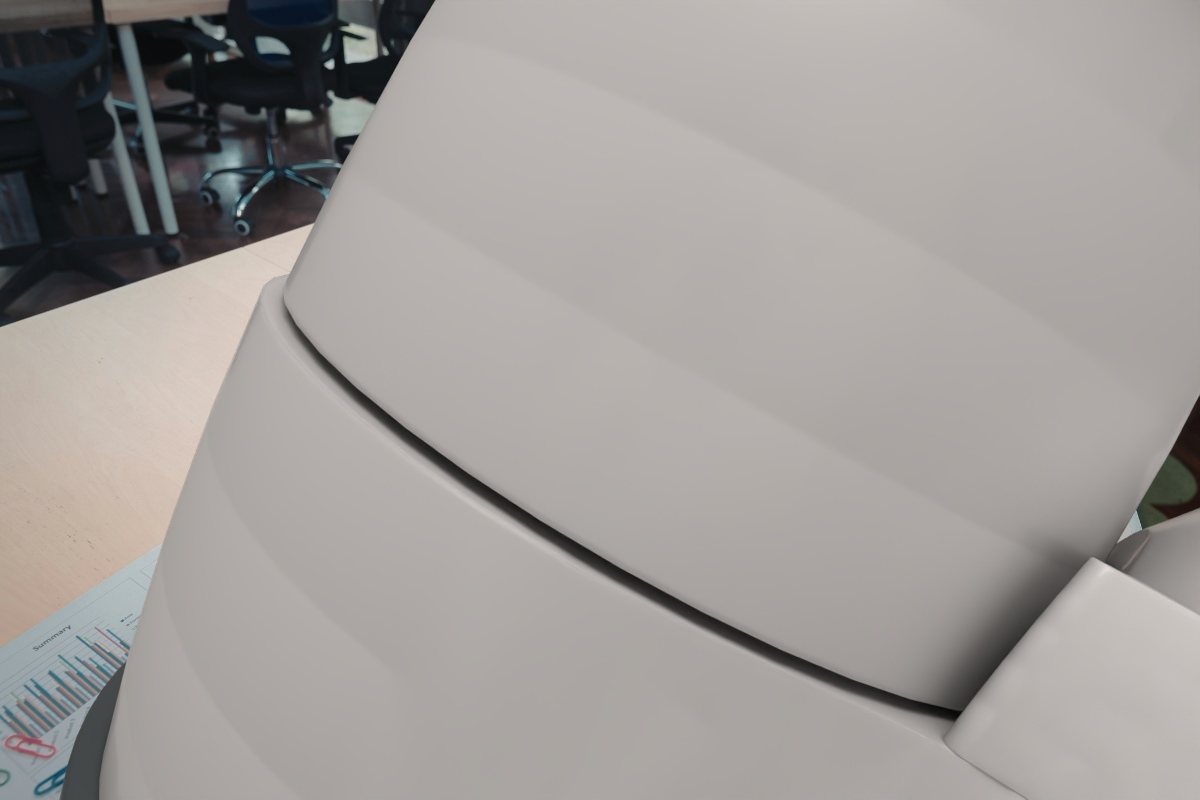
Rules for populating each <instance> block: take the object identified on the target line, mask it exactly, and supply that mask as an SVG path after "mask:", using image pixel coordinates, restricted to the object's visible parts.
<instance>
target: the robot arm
mask: <svg viewBox="0 0 1200 800" xmlns="http://www.w3.org/2000/svg"><path fill="white" fill-rule="evenodd" d="M308 233H309V234H307V235H308V236H307V237H306V239H305V241H304V244H303V246H302V248H301V250H300V251H299V254H298V256H297V258H296V260H295V262H294V263H293V266H292V267H291V270H290V272H289V273H287V274H283V275H279V276H274V277H273V278H271V279H270V280H269V281H268V282H266V283H265V284H263V286H262V288H261V290H260V293H259V295H258V297H257V299H256V302H255V304H254V307H253V309H252V311H251V314H250V316H249V318H248V321H247V323H246V325H245V328H244V330H243V332H242V335H241V337H240V339H239V341H238V344H237V347H236V349H235V351H234V354H233V356H232V358H231V360H230V363H229V365H228V368H227V370H226V372H225V375H224V377H223V378H222V381H221V384H220V387H219V388H218V391H217V393H216V395H215V398H214V399H213V403H212V406H211V409H210V411H209V414H208V417H207V419H206V422H205V424H204V428H203V430H202V433H201V436H200V438H199V441H198V444H197V447H196V449H195V452H194V454H193V458H192V459H191V462H190V464H189V465H190V466H189V469H188V471H187V473H186V476H185V478H184V482H183V484H182V488H181V490H180V492H179V495H178V498H177V500H176V503H175V506H174V509H173V511H172V515H171V517H170V519H169V520H170V521H169V523H168V526H167V529H166V532H165V535H164V538H163V541H162V544H161V548H160V550H159V554H158V558H157V561H156V564H155V567H154V570H153V573H152V577H151V579H150V583H149V585H148V589H147V593H146V595H145V599H144V602H143V605H142V608H141V612H140V615H139V619H138V622H137V624H136V628H135V630H134V634H133V636H132V637H133V638H132V641H131V643H130V646H129V650H128V655H127V658H126V661H125V662H123V664H122V665H121V666H119V667H118V669H117V670H116V671H115V672H114V674H113V675H112V676H111V677H110V679H109V680H108V681H107V682H106V683H105V685H104V686H103V688H102V689H101V690H100V692H99V693H98V695H97V697H96V698H95V700H94V701H93V703H91V704H92V705H91V706H90V708H89V709H88V711H87V713H86V715H85V718H84V719H83V722H82V724H81V726H80V728H79V730H78V732H77V735H76V737H75V739H74V743H73V745H72V749H71V752H70V755H69V758H68V760H67V761H68V762H67V765H66V769H65V773H64V777H63V782H62V787H61V789H60V790H61V791H60V795H59V799H58V800H1200V507H1199V508H1196V509H1194V510H1191V511H1188V512H1186V513H1182V514H1180V515H1177V516H1175V517H1173V518H1170V519H1167V520H1164V521H1162V522H1159V523H1156V524H1153V525H1151V526H1148V527H1145V528H1143V529H1141V530H1138V531H1135V532H1133V533H1132V534H1129V535H1128V536H1127V537H1125V538H1123V539H1122V540H1120V539H1121V537H1122V536H1123V533H1124V532H1125V530H1126V528H1127V527H1128V525H1129V524H1130V522H1131V520H1132V518H1133V517H1134V515H1135V513H1136V511H1137V509H1138V508H1139V506H1140V504H1141V503H1142V500H1143V499H1144V498H1145V495H1146V493H1147V492H1148V490H1149V489H1150V487H1151V485H1152V483H1153V482H1154V480H1155V478H1156V477H1157V475H1158V473H1159V471H1160V470H1161V469H1162V466H1163V464H1164V463H1165V461H1166V459H1167V458H1168V456H1169V454H1170V452H1171V451H1172V449H1173V447H1174V445H1175V443H1176V441H1177V439H1178V437H1179V436H1180V434H1181V432H1182V429H1183V427H1184V426H1185V424H1186V422H1187V420H1188V418H1189V417H1190V414H1191V413H1192V410H1193V408H1194V406H1195V404H1196V402H1197V400H1198V399H1199V397H1200V0H434V2H433V3H432V5H431V7H430V9H429V10H428V11H427V13H426V14H425V17H424V18H423V20H422V21H421V23H420V25H419V27H418V28H417V30H416V32H415V33H414V35H413V36H412V38H411V40H410V41H409V43H408V45H407V47H406V49H405V51H404V52H403V54H402V56H401V58H400V60H399V61H398V64H397V65H396V67H395V69H394V71H393V73H392V74H391V76H390V78H389V80H388V82H387V83H386V85H385V87H384V89H383V91H382V93H381V95H380V96H379V98H378V100H377V102H376V104H375V105H374V107H373V109H372V111H371V112H370V114H369V116H368V118H367V120H366V122H365V124H364V125H363V128H362V129H361V131H360V133H359V135H358V136H357V139H356V140H355V141H354V144H353V145H352V148H351V149H350V151H349V153H348V155H347V156H346V159H345V160H344V162H343V164H342V166H341V168H340V170H339V172H338V174H337V176H336V178H335V180H334V182H333V184H332V186H331V188H330V190H329V192H328V194H327V196H326V199H325V201H324V203H323V204H322V207H321V209H320V211H319V213H318V215H317V217H316V219H315V221H314V223H313V225H312V227H311V229H310V231H309V232H308Z"/></svg>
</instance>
